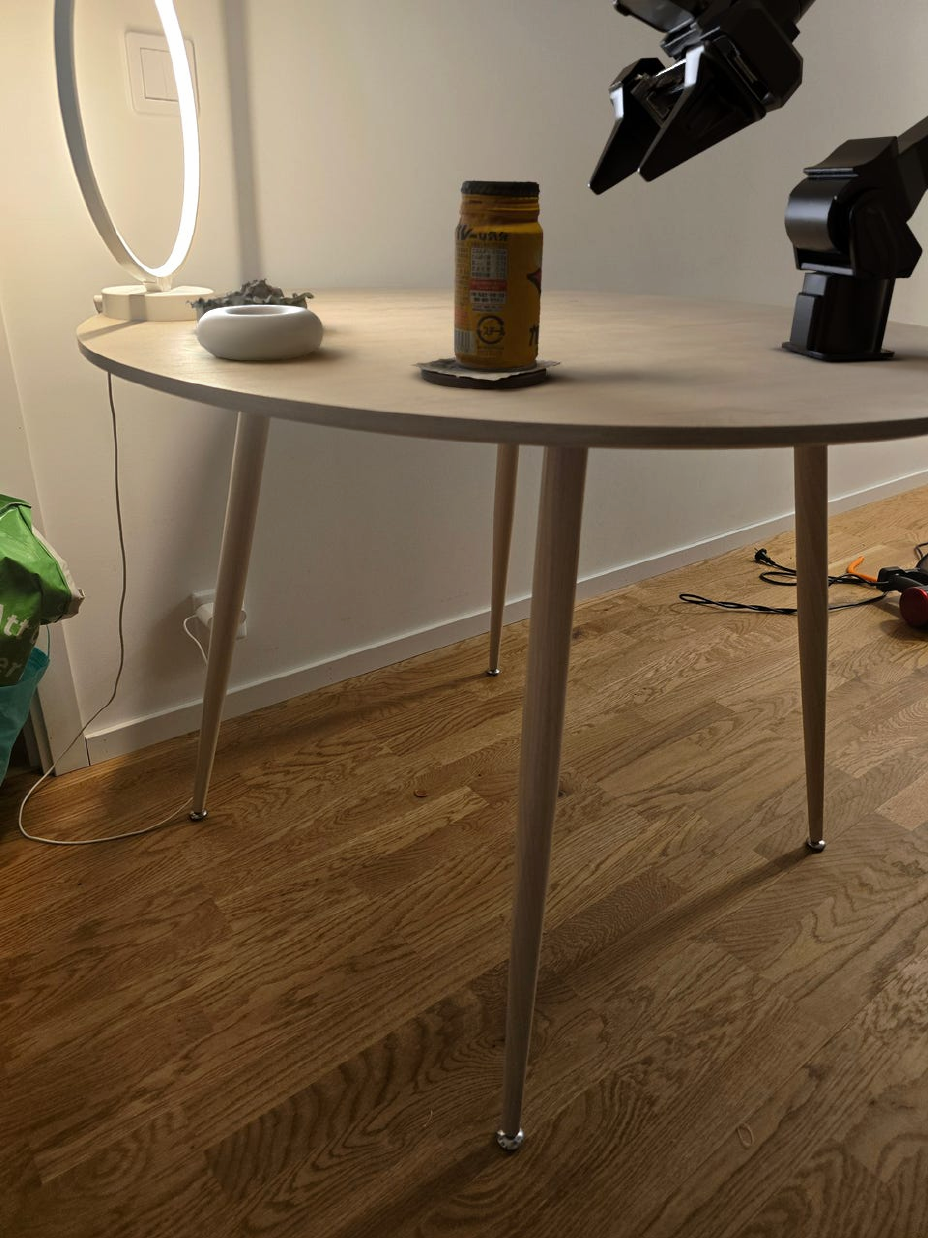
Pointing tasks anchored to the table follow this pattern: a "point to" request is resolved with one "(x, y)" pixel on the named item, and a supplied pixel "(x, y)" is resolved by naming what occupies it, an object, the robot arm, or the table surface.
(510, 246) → the condiment
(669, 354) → the table surface
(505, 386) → the coaster
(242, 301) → the grey crumpled piece
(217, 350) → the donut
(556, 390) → the table surface
